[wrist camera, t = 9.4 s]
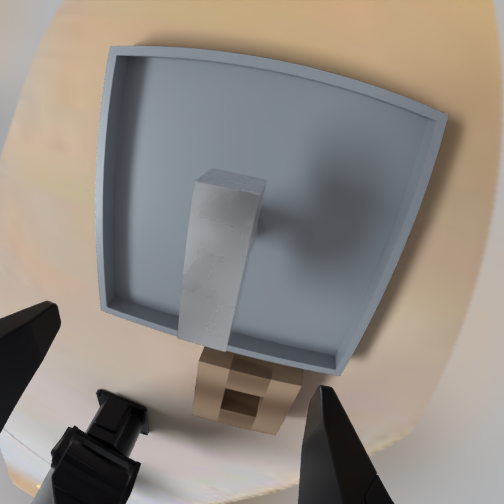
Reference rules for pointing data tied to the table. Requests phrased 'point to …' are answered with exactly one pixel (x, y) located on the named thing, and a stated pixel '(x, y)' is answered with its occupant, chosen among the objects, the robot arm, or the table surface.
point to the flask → (44, 491)
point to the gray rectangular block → (218, 254)
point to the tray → (275, 196)
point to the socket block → (244, 390)
